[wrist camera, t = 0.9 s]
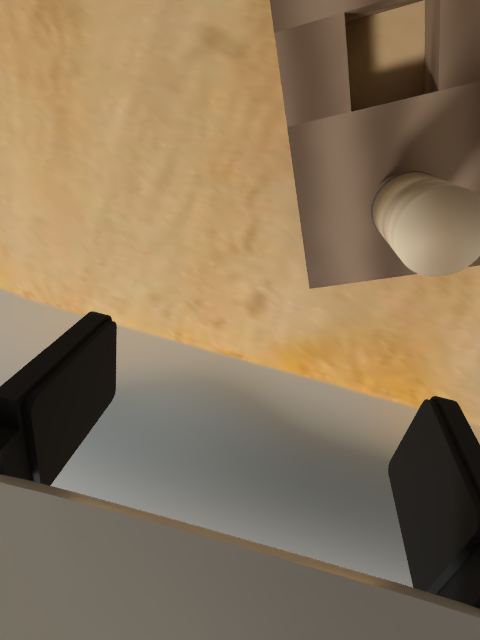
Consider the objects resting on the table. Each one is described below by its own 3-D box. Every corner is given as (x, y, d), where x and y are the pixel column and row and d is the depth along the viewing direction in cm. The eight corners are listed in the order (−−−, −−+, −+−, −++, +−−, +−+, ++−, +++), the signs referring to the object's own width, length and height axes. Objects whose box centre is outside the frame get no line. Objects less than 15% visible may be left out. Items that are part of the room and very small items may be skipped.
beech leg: (430, 160, 25) (499, 177, 17) (429, 224, 27) (490, 270, 19) (362, 173, 26) (393, 196, 18) (365, 235, 28) (395, 283, 20)
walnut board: (506, -118, 21) (536, -153, 18) (479, 251, 30) (496, 262, 28) (266, -37, 24) (262, -57, 22) (308, 276, 34) (309, 288, 31)
